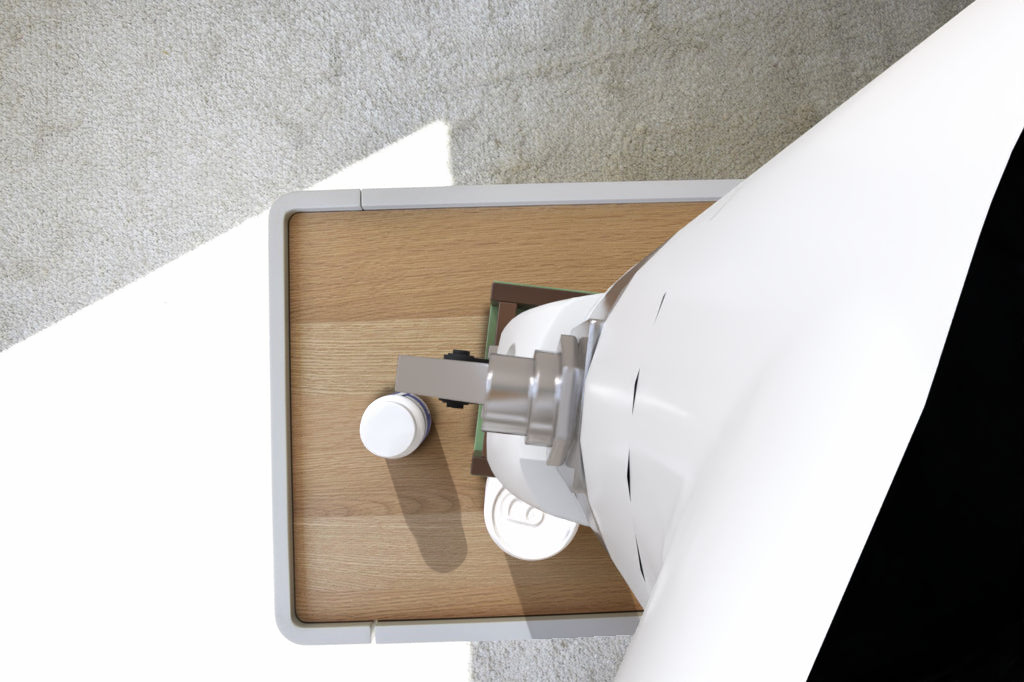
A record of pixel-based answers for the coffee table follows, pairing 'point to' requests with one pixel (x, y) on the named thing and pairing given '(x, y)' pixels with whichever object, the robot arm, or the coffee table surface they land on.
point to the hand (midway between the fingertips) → (607, 394)
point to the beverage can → (523, 525)
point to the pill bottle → (395, 425)
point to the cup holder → (503, 309)
